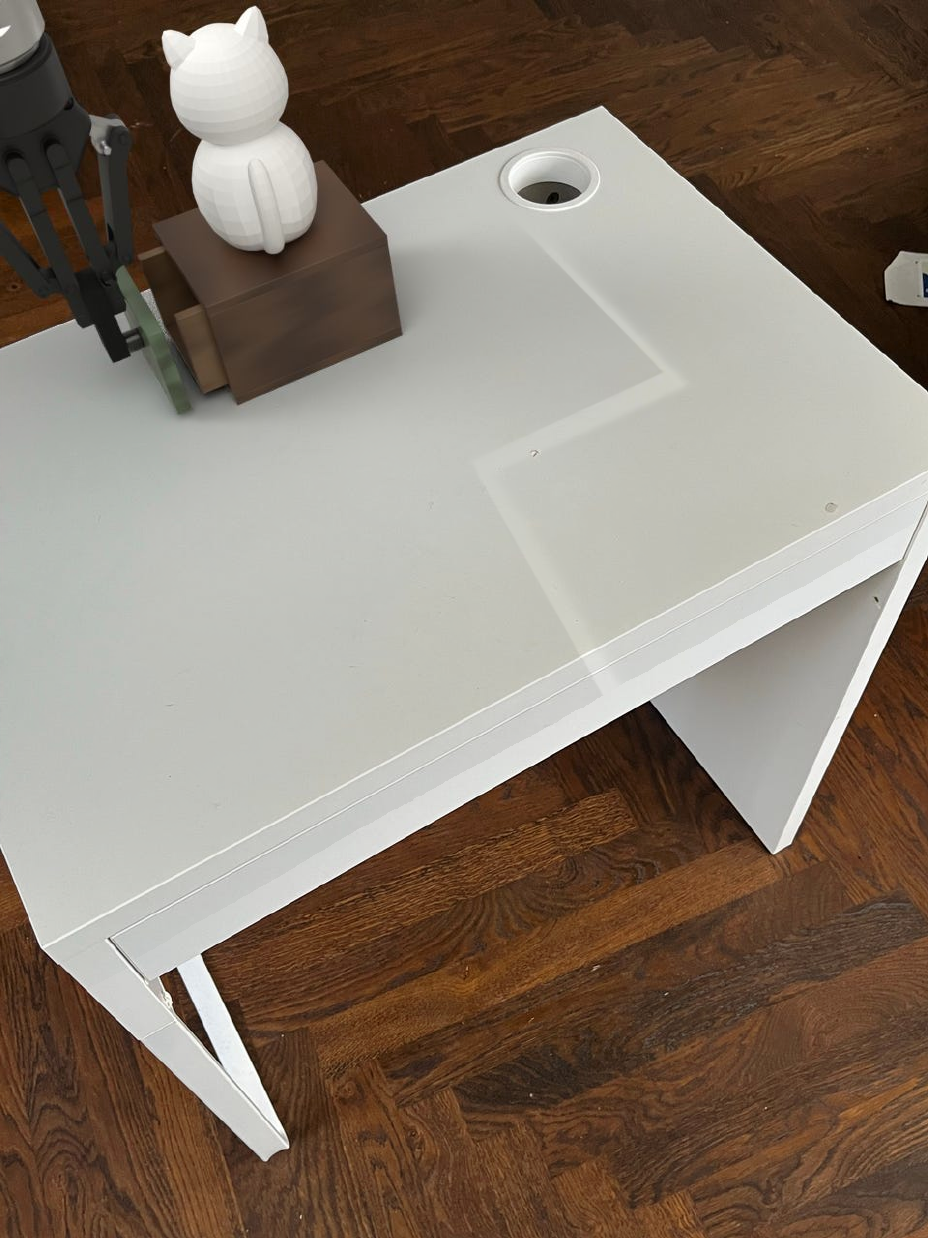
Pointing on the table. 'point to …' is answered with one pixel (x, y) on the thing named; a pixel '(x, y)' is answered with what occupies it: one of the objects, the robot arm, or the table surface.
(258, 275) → the cabinet
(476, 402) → the table surface
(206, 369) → the drawer
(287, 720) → the table surface
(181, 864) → the table surface
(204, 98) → the cat figurine
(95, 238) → the robot arm
